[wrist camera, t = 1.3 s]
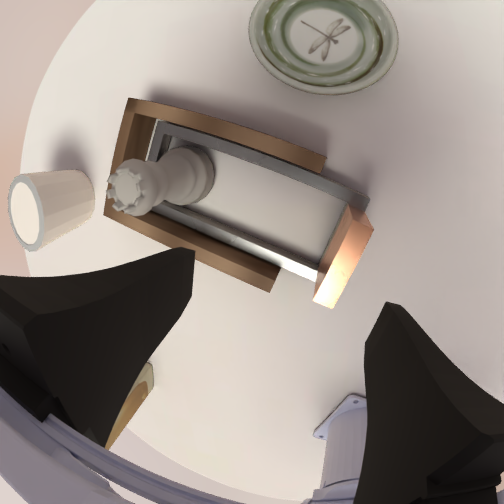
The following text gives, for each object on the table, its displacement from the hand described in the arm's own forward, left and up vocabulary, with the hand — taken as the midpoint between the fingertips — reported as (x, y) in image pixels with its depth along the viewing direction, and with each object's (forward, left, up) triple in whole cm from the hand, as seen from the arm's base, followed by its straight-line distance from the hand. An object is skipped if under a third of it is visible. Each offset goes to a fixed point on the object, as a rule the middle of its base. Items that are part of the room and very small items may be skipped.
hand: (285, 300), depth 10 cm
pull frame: (+5, 0, -11) cm, 12 cm away
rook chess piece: (+10, 0, -11) cm, 15 cm away
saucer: (+4, -13, -11) cm, 18 cm away
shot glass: (+22, +6, -11) cm, 25 cm away
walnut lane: (+8, 0, -11) cm, 13 cm away
